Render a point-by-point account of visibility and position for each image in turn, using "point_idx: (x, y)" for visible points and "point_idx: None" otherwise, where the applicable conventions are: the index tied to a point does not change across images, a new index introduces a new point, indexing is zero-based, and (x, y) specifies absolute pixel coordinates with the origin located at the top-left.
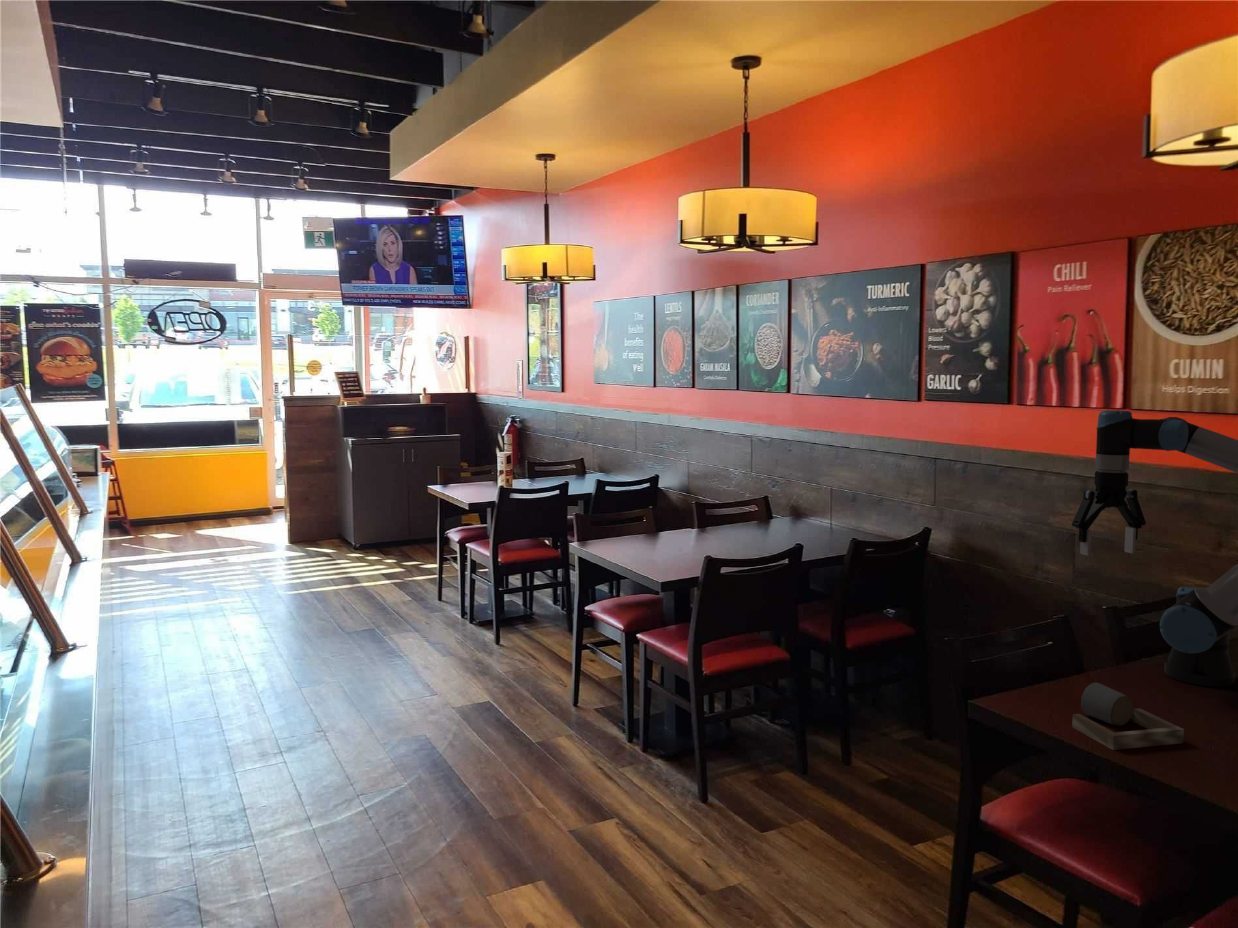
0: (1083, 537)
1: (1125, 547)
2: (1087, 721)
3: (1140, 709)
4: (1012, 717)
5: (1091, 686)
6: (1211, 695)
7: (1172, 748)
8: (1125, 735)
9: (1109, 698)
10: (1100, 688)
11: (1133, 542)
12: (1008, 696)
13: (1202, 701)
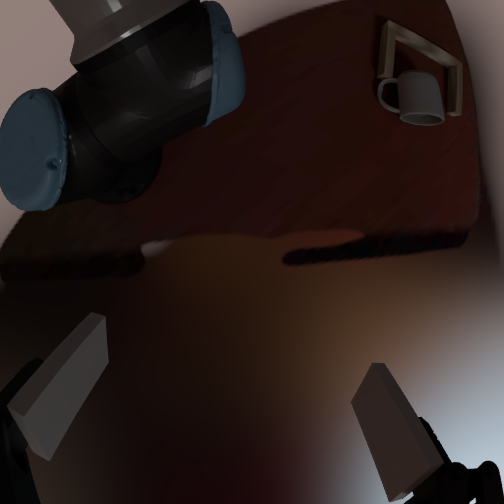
0: (431, 436)
1: (99, 370)
2: (461, 94)
3: (386, 70)
4: (477, 170)
5: (442, 113)
6: None
7: None
8: (451, 56)
9: (438, 86)
10: (438, 101)
11: (70, 350)
12: (442, 218)
13: None
